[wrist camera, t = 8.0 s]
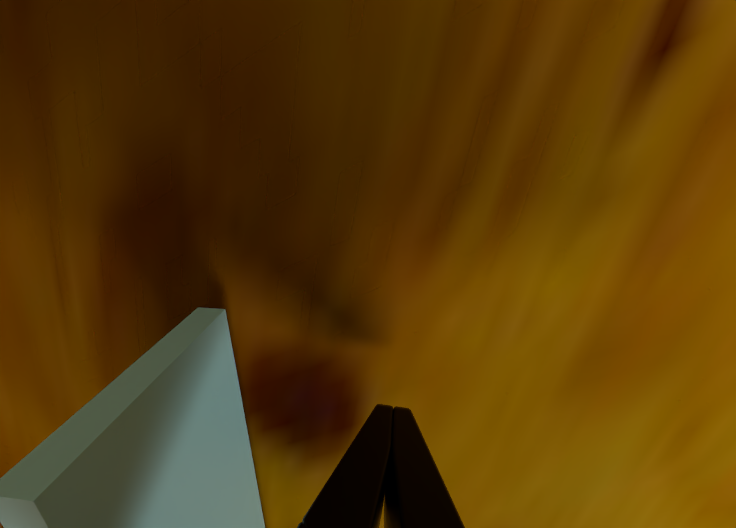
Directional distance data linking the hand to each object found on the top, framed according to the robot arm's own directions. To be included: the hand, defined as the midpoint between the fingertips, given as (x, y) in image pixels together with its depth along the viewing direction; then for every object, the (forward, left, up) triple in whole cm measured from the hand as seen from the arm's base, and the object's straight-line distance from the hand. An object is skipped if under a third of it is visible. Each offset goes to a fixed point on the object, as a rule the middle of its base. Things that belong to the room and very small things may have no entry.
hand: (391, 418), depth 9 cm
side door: (-8, -2, -1) cm, 8 cm away
